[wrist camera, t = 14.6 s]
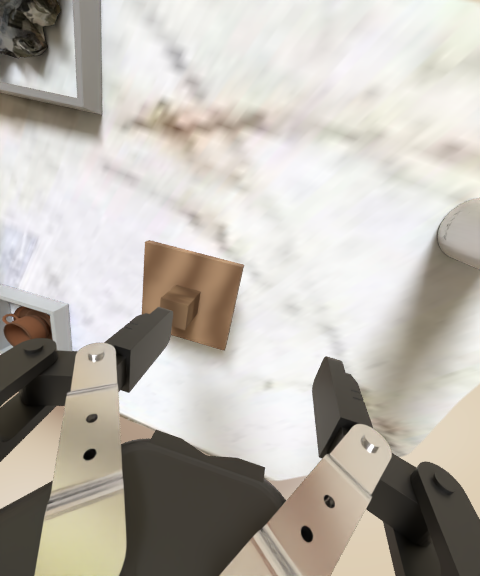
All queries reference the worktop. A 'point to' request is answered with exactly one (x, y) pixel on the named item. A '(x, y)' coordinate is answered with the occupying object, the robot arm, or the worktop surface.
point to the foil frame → (77, 64)
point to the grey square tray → (56, 309)
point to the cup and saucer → (27, 326)
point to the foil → (25, 26)
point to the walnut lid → (191, 292)
